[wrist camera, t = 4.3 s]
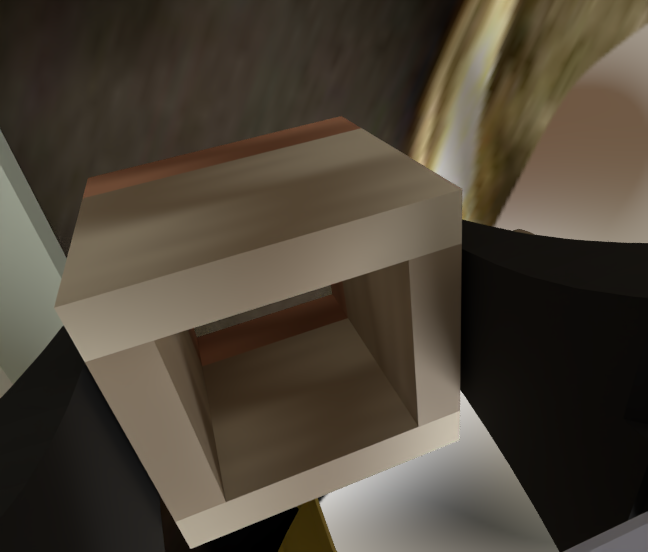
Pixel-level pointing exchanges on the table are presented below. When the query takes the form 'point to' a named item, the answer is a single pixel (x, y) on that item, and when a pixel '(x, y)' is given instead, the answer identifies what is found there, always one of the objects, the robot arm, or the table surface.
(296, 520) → the yellow recessed panel
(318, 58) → the table surface
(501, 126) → the table surface
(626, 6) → the table surface
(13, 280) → the pin board
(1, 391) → the charcoal sleeve
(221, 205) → the birch sleeve
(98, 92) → the table surface
